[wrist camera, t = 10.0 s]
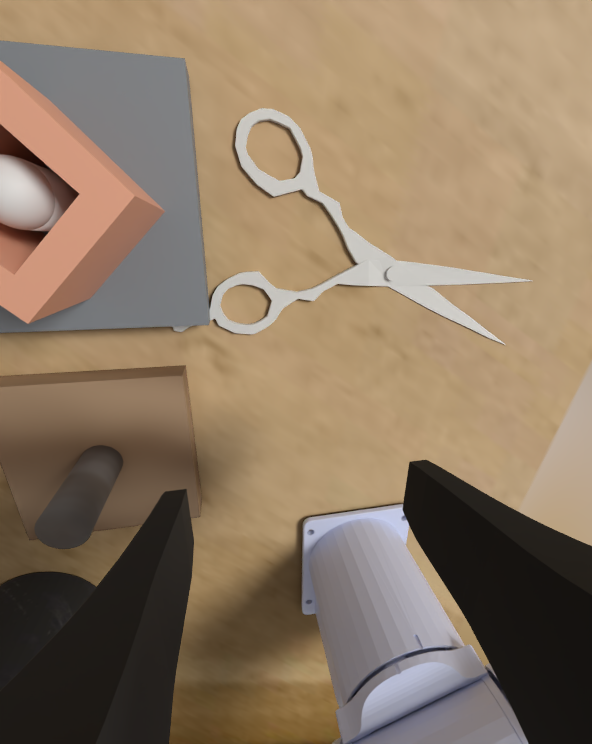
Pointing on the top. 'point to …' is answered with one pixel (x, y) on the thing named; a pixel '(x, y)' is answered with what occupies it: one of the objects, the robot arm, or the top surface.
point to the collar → (79, 222)
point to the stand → (96, 449)
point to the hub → (138, 160)
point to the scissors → (370, 260)
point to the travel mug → (35, 615)
